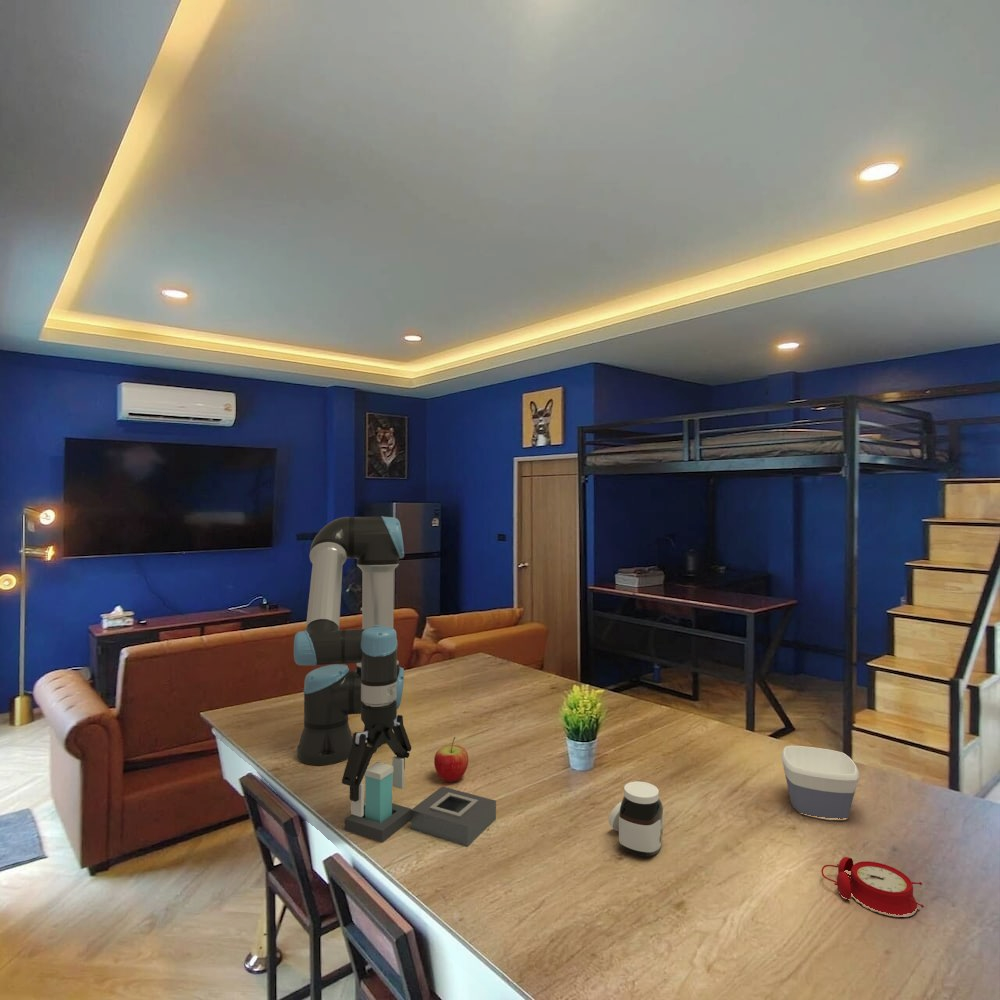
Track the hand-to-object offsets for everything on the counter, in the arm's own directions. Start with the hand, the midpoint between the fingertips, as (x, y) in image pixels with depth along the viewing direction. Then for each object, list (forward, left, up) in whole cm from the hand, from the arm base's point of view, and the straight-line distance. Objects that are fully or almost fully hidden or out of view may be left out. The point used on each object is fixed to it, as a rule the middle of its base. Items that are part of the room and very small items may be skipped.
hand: (378, 800), depth 131 cm
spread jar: (+50, +20, -6) cm, 54 cm away
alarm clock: (+91, +23, -6) cm, 94 cm away
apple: (+2, +25, -6) cm, 26 cm away
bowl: (+83, +53, -6) cm, 99 cm away
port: (+14, +8, -5) cm, 17 cm away
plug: (0, 0, -5) cm, 5 cm away
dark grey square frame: (0, 0, -5) cm, 5 cm away
